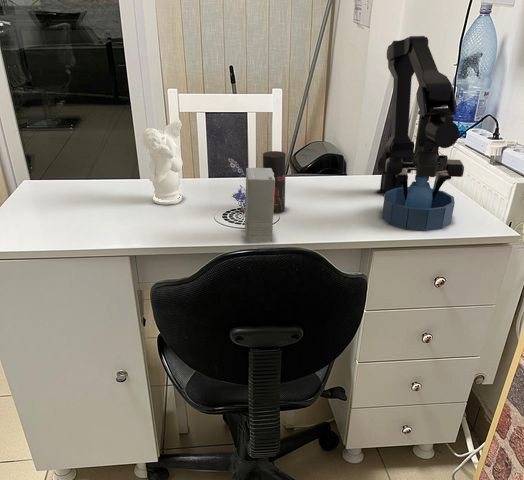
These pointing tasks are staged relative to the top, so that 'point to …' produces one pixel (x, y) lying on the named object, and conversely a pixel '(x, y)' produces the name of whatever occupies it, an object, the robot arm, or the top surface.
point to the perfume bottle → (419, 193)
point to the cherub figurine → (164, 161)
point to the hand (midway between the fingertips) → (418, 200)
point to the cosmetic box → (259, 204)
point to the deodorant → (277, 177)
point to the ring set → (239, 189)
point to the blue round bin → (417, 211)
